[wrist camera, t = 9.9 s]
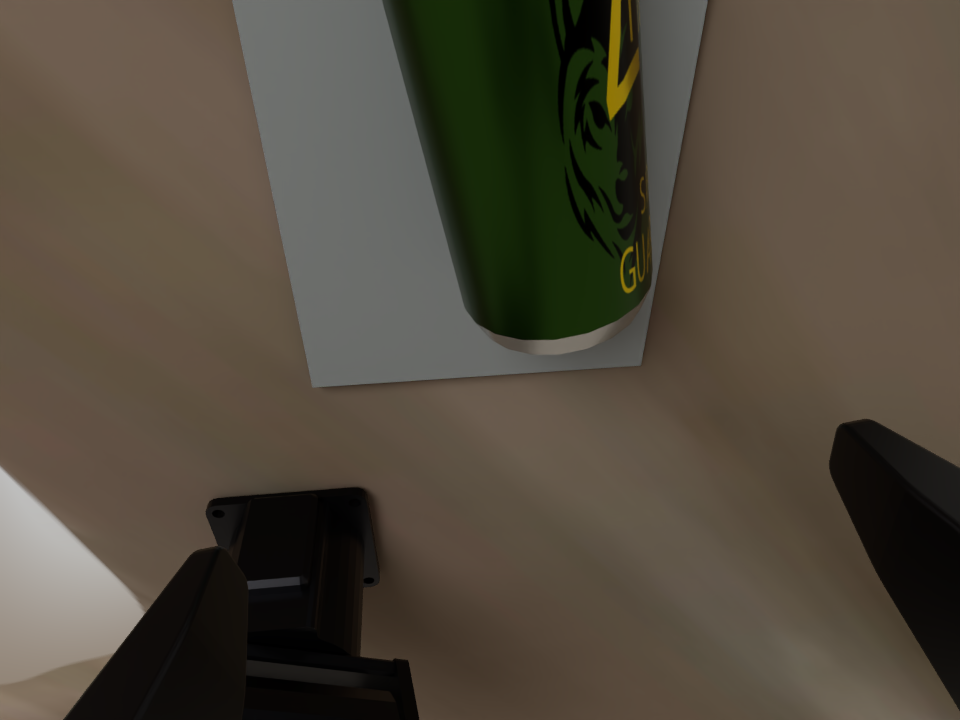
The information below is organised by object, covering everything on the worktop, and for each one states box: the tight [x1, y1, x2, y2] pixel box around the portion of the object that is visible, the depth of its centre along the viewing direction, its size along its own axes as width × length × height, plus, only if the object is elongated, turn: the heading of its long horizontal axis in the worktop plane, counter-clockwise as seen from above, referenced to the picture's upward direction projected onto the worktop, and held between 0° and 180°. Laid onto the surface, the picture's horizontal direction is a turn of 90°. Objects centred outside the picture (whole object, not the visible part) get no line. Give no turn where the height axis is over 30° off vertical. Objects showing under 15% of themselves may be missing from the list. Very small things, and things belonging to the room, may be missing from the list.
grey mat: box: [232, 0, 708, 387], centre depth 20 cm, size 16×12×1 cm
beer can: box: [382, 0, 653, 355], centre depth 16 cm, size 5×5×12 cm
